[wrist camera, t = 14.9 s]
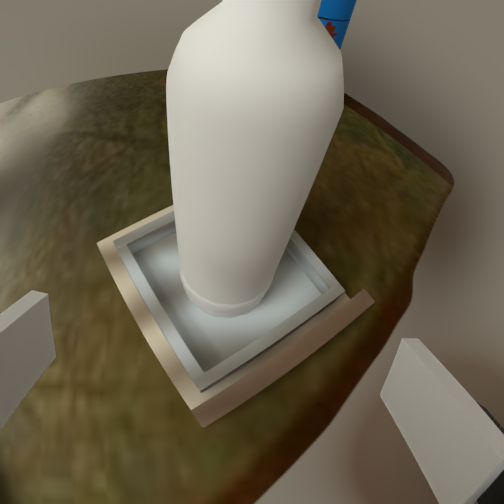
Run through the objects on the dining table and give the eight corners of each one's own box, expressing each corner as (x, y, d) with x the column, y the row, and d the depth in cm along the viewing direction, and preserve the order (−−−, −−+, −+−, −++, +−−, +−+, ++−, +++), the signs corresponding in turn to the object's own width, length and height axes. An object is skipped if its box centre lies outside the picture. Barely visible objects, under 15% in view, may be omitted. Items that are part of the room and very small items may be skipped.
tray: (99, 248, 31) (88, 226, 27) (242, 179, 38) (246, 154, 34) (203, 427, 24) (203, 428, 20) (356, 316, 31) (375, 301, 27)
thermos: (329, 121, 46) (382, -23, 25) (265, 123, 44) (303, -43, 22) (302, 84, 51) (338, -42, 30) (244, 85, 48) (269, -55, 27)
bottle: (167, 258, 29) (150, -139, 4) (242, 228, 32) (317, -117, 6) (205, 334, 26) (260, -193, 1) (284, 296, 29) (467, -86, 3)
